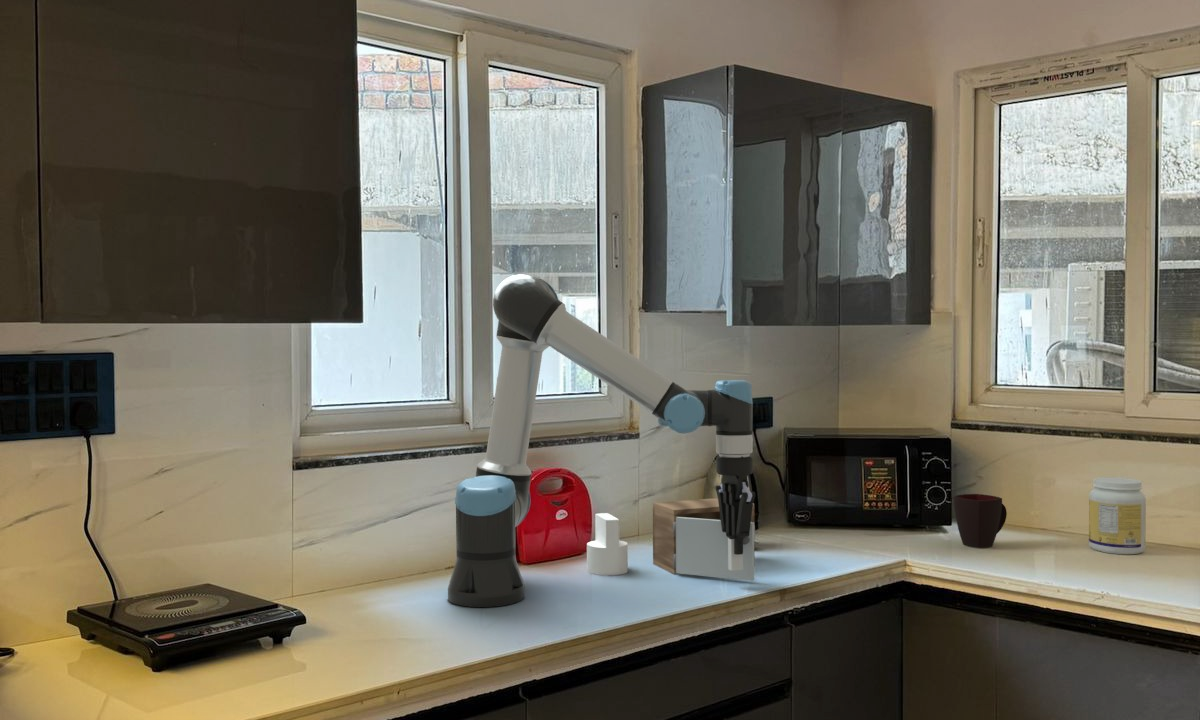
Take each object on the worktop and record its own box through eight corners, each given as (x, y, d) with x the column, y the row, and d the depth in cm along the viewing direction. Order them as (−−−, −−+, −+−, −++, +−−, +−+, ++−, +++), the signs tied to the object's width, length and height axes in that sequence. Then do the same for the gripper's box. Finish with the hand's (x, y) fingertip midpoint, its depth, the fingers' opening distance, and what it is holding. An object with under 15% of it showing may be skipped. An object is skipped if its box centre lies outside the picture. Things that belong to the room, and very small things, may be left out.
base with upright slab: (633, 573, 219) (632, 518, 219) (593, 576, 216) (593, 521, 216) (620, 565, 228) (620, 512, 227) (582, 567, 225) (582, 514, 225)
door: (670, 574, 216) (670, 518, 215) (674, 571, 218) (674, 516, 218) (750, 582, 208) (750, 524, 208) (754, 579, 210) (754, 522, 210)
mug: (947, 544, 249) (947, 495, 249) (987, 538, 255) (987, 491, 255) (979, 551, 240) (979, 501, 240) (1019, 545, 246) (1019, 497, 246)
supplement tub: (1098, 542, 250) (1098, 475, 249) (1152, 549, 241) (1152, 479, 241) (1081, 550, 241) (1081, 480, 241) (1136, 557, 232) (1136, 485, 232)
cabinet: (674, 574, 218) (673, 510, 218) (653, 563, 228) (652, 502, 228) (754, 566, 225) (754, 504, 225) (730, 556, 236) (730, 497, 235)
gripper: (766, 457, 202) (767, 574, 202) (735, 451, 214) (736, 561, 214) (733, 458, 199) (734, 577, 199) (703, 453, 211) (705, 564, 212)
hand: (735, 569), depth 207 cm, fingers closed
